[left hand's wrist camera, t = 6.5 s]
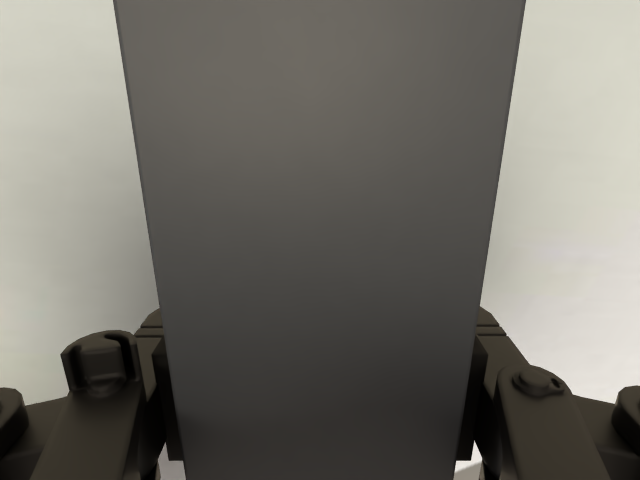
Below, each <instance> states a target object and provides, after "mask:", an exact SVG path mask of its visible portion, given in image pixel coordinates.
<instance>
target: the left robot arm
mask: <svg viewBox="0 0 640 480" xmlns="http://www.w3.org/2000/svg"><path fill="white" fill-rule="evenodd" d="M60 355H61V359H62V363H63V367H64V371H65V375H66V378H67V382H68V386H69V390H70V391H69V393H68V395H67V397H63V398H59V399H55V400H51V401H46V402H41V403H36V404H32V405H27V406H25V404H24V401H23V397H22V394H21V393H19V392H18V391H17V390H16V389H11V388H0V480H160V470H159V464H158V458H159V455H160V453H161V451H162V448H163V446H164V444H165V442H166V447H167V453H168V459H169V461H183V456H182V450H181V443H180V436H179V430H178V423H177V417H176V410H175V404H174V397H173V391H172V384H171V377H170V371H169V364H168V358H167V351H166V345H165V338H164V331H163V325H162V318H161V312H160V308H159V309H157V310H156V311H154V312H153V313H151V314H150V315H149V316H148V317H147V318H146V320H145V321H144V322H143V323H142V325H141V328H139V329H138V330H137V331H136V333H135V334H134V335H133V334H131V333H130V332H126V331H121V330H108V331H102V332H98V333H93V334H90V335H88V336H85V337H83V338H80V339H78V340H77V341H75V342H73V343H72V344H70V345H69V346H67V347H66V349H65V350H64V351H63V352H62V353H61V354H60ZM474 440H475V442H476V445H477V447H478V449H479V452H480V454H481V456H482V464H481V470H480V475H479V480H640V386H630V387H625V388H623V389H622V390H621V391H620V392H619V393H618V396H617V399H616V403H615V404H612V403H608V402H603V401H598V400H593V399H588V398H584V397H580V396H576V395H573V394H572V392H571V390H570V389H569V387H568V386H567V385H566V383H565V382H564V381H563V380H562V379H560V378H559V377H557V376H556V375H555V374H553V373H551V372H549V371H547V370H545V369H543V368H540V367H537V366H533V365H530V364H529V363H528V362H527V360H526V359H525V358H524V356H523V355H522V354H521V352H520V351H519V350H518V348H517V347H516V346H515V345H514V343H513V342H512V341H511V339H510V338H509V337H508V336H506V333H505V331H504V330H503V329H502V327H500V326H499V323H498V322H497V321H496V320H495V318H494V317H493V316H492V314H491V313H489V312H488V311H486V310H485V309H483V308H482V307H480V306H479V313H478V320H477V326H476V333H475V339H474V346H473V353H472V359H471V366H470V372H469V379H468V386H467V392H466V399H465V405H464V412H463V419H462V425H461V432H460V438H459V445H458V452H457V458H456V461H471V457H472V451H473V445H474Z"/></svg>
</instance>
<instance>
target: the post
mask: <svg viewBox="0 0 640 480" xmlns="http://www.w3.org/2000/svg"><path fill="white" fill-rule="evenodd" d="M113 3H114V10H115V16H116V23H117V29H118V36H119V43H120V49H121V56H122V62H123V69H124V75H125V82H126V89H127V95H128V102H129V108H130V115H131V121H132V128H133V135H134V141H135V148H136V154H137V161H138V167H139V174H140V180H141V187H142V194H143V200H144V207H145V213H146V220H147V226H148V233H149V240H150V246H151V253H152V259H153V266H154V272H155V279H156V285H157V292H158V299H159V305H160V312H161V318H162V325H163V331H164V338H165V345H166V351H167V358H168V364H169V371H170V377H171V384H172V391H173V397H174V404H175V410H176V417H177V423H178V430H179V436H180V443H181V450H182V456H183V463H184V469H185V476H186V480H453V478H454V471H455V465H456V458H457V452H458V445H459V438H460V432H461V425H462V419H463V412H464V405H465V399H466V392H467V386H468V379H469V372H470V366H471V359H472V353H473V346H474V339H475V333H476V326H477V320H478V313H479V306H480V300H481V293H482V287H483V280H484V273H485V267H486V260H487V254H488V247H489V240H490V234H491V227H492V221H493V214H494V207H495V201H496V194H497V188H498V181H499V175H500V168H501V161H502V155H503V148H504V142H505V135H506V128H507V122H508V115H509V109H510V102H511V95H512V89H513V82H514V76H515V69H516V62H517V56H518V49H519V43H520V36H521V29H522V23H523V16H524V10H525V3H526V0H113Z"/></svg>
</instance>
